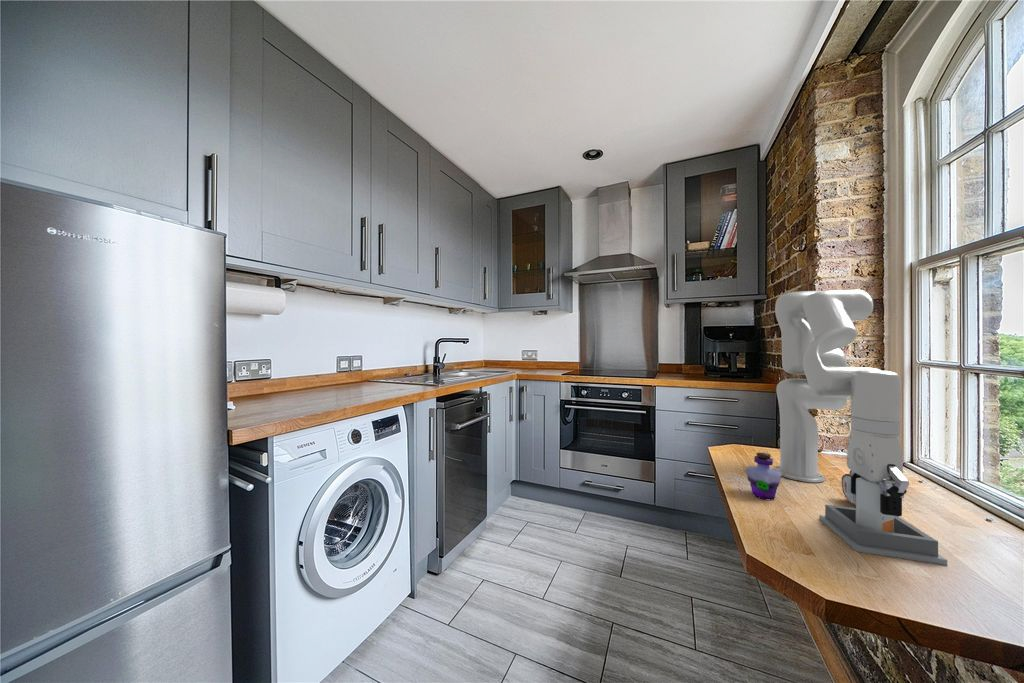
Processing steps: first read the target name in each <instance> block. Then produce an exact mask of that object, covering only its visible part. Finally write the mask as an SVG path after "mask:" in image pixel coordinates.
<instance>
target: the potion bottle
mask: <svg viewBox="0 0 1024 683" xmlns="http://www.w3.org/2000/svg"><path fill="white" fill-rule="evenodd" d="M771 457H772V456H771V454H770V453H766V452H756V455H755V456H754V457H753V458H754V459H753V460H754V463H757V465H756V466H747V467H746V468H745V472H746V476H747V481H748V483H749V484H750V489H751V492H752V493H753V494H754V495H755V496H756V499H761V500H764V501H767V500H766V499H770V500H769V501H772V500H771V499H774V498H775V499H776V492H777V489H778V488H779V486H780V481H781V477H782V476H781V475H782V473H780V472H777V471H775V470H774V468H771V467H770V466H773V464H774V459H773V458H771ZM752 493H751V494H752ZM755 496H754V497H755ZM758 497H760V498H758Z"/></svg>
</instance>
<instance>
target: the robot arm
mask: <svg viewBox="0 0 1024 683" xmlns="http://www.w3.org/2000/svg"><path fill="white" fill-rule="evenodd" d="M873 310H874V300H873V299H872V297H871V296H870V295H869V293H868V292H866V291H864V290H861V289H846V290H845V289H836V290H835V289H834V290H830V289H829V290H804V291H791V292H787V293H783V294H781V295H780V296H779V297H778V298H777V300H776V302H775V307H774V312H775V317H776V321H777V322H778V326H779V329H780V332H781V360H782V361H781V365H782V368H783V370H784V371H785V373H788V374H791V375H803V376H805V377H806V378H785V379H783V380H781V381H779V382H778V383H777V384H776V392H775V393H776V397H777V401H778V408H779V427H780V428H779V429H780V430H779V435H780V437H779V438H780V440H779V446H780V448H779V451H780V453H779V458H780V459H779V460H780V461H779V463H780V464H779V465H776V466H774V468H773V470H775V471H777V472H780V473H782V475H781V477H784V478H786V479H787V478H788V479H790V480H795V481H798V480H799V481H800V482H806V483H823V482H824V481H825V476H824V475H823V474H822V473H820V472H819V452H818V451H819V450H818V449H819V443H818V442H819V431H818V428H819V424H818V422H817V420H816V418H815V417H814V416H813V415H812V414H811V413H810V412H809V410H829V411H837V410H838V411H839V410H842V409H844V408H845V407H846V405H847V403H848V399H850V420H851V421H850V431H849V436H848V440H847V449H846V450H847V451H846V466H847V468H848V469H849V474H850V475H851V493H852V494H855V495H856V478H860V477H863V478H865V479H867V480H869V481H871V482H875V483H876V482H878V483H879V485H880V488H881V490H882V492H883V494H880V512H881V513H882V514H884V515H892V516H898V517H902V515H903V499H904V498H905V494H907V492H908V491H907V489H908V488H909V485H910V481H909V480H908V479H907V478H906V477H905V476H904V474H903V473H904V471H903V470H904V466H903V453H902V447H901V441H900V437H901V433H902V432H901V431H902V430H901V427H902V426H901V423H902V422H901V421H902V420H901V419H902V418H901V416H902V415H901V413H902V411H901V410H902V409H901V408H902V406H901V405H902V402H901V400H902V398H901V397H902V379H901V376H900V375H899V374H898V372H894V371H889V370H882V369H880V368H877V367H876V368H875V367H869V366H868V367H866V366H865V367H864V366H848V359H847V356H846V354H845V352H844V350H843V349H841V348H844V347H846V346H848V345H850V344H852V343H853V342H854V341H855V340H856V339H857V337H858V330H857V329H856V327H855V325H854V322H853V321H863V320H866V319H868V318H870V316H871V315H872V313H873ZM852 476H853V477H852ZM883 479H885V480H883ZM887 485H893V486H892V487H891V488H889V489H888V488H887Z"/></svg>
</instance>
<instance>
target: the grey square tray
mask: <svg viewBox="0 0 1024 683" xmlns="http://www.w3.org/2000/svg"><path fill="white" fill-rule="evenodd" d="M824 508H825V509H824V512H825V515H824V514H823V515H822V514H819V515H818V516H819V520H820V521H821V522H822V523H825V524H824V525H825V526H827V527H828V528H829V527H830V528H831V529H832V530H833V533H834V534H836V535H837V536H838V537H839V538H840V539H842V540H843V541H844V542H845V543H846V544H847V545H848V546H849V547H851V548H852V549H853V550H854V551H855V552H858V553H863V554H864V553H865V554H872V555H878V556H883V557H890V558H896V557H897V558H898V559H903V558H904V560H909V561H916V562H924V563H930V564H937V565H941V566H942V565H943V566H948V559H946V558H945V557H943V556H942V555H940V554H939V541H938V540H937V539H935V538H934V537H932V536H930V535H928V534H927V533H925V532H924V531H922V530H921V529H919V528H918V527H916V526H914V525H912V524H911V523H910V522H908V521H906V520H904V519H902V518H901V517H900V516H894V533H891V532H883V531H876V530H868V529H862V528H861V527H859V526H858V525H857V524H856V507H848V506H839V505H832V504H825V505H824ZM830 528H829V529H830ZM831 529H830V530H831ZM832 530H831V531H832Z"/></svg>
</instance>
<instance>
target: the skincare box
mask: <svg viewBox="0 0 1024 683" xmlns="http://www.w3.org/2000/svg"><path fill="white" fill-rule="evenodd" d="M883 480H885V479H883ZM892 486H893V485H887V488H888V489H889V488H891V487H892ZM880 494H883V492H882V490H881V488H880V485H879V483H878V482H876V483H875V482H871V481H869V480H867V479H865V478H863V477H860V478H856V506H855V508H856V524H857V525H858V526H859V527H861V528H862V529H868V530H876V531H883V532H891V533H894V516H892V515H884V514H882V513H881V512H880Z"/></svg>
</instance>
